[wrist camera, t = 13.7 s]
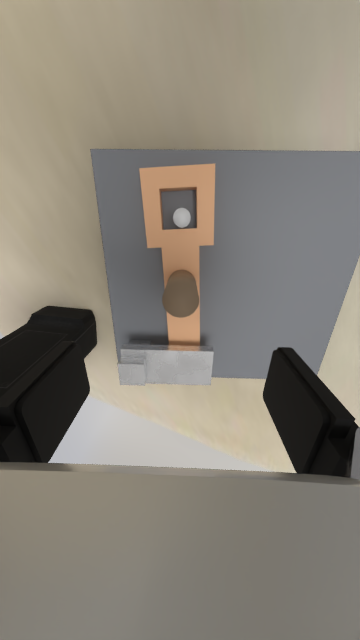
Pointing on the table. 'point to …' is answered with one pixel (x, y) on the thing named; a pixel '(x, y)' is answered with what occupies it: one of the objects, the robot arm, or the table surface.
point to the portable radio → (43, 340)
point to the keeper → (164, 364)
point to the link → (180, 243)
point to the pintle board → (238, 250)
